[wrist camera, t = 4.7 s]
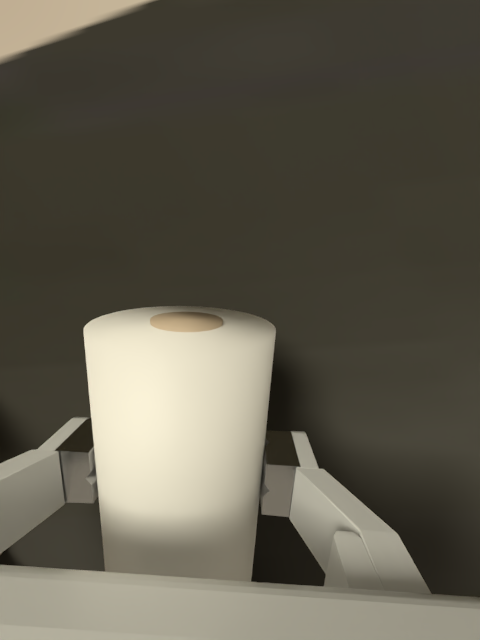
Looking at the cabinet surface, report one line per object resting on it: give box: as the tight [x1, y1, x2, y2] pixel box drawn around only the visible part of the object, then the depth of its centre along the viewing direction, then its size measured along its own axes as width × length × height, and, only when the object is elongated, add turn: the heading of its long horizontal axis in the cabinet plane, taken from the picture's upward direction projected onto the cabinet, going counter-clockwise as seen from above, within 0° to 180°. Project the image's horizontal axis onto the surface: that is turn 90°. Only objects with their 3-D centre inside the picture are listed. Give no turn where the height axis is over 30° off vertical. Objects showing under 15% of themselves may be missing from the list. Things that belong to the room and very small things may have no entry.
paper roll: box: [84, 306, 276, 582], centre depth 8 cm, size 9×5×5 cm, turn 177°
